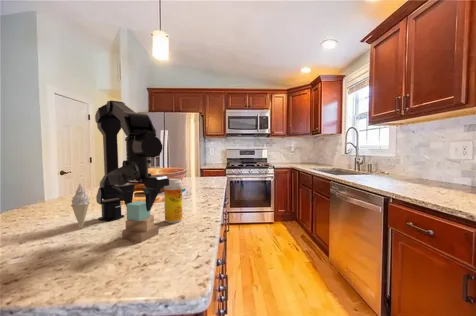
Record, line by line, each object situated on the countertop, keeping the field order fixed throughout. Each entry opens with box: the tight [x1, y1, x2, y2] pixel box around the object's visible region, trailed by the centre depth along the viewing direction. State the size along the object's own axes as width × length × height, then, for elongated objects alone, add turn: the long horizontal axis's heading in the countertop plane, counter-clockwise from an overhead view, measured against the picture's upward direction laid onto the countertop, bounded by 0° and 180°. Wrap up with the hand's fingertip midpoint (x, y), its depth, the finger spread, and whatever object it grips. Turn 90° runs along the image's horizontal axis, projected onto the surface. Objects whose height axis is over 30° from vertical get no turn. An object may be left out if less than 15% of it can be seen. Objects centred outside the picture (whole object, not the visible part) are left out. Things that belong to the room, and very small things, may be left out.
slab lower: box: [121, 224, 160, 243], centre depth 71 cm, size 7×7×3 cm
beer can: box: [163, 177, 183, 224], centre depth 85 cm, size 6×6×15 cm
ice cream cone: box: [70, 183, 90, 230], centre depth 78 cm, size 5×5×15 cm
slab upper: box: [125, 214, 155, 232], centre depth 71 cm, size 6×6×3 cm
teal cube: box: [125, 200, 151, 221], centre depth 70 cm, size 4×4×4 cm
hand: (138, 209), depth 70 cm, fingers open, 7 cm apart
